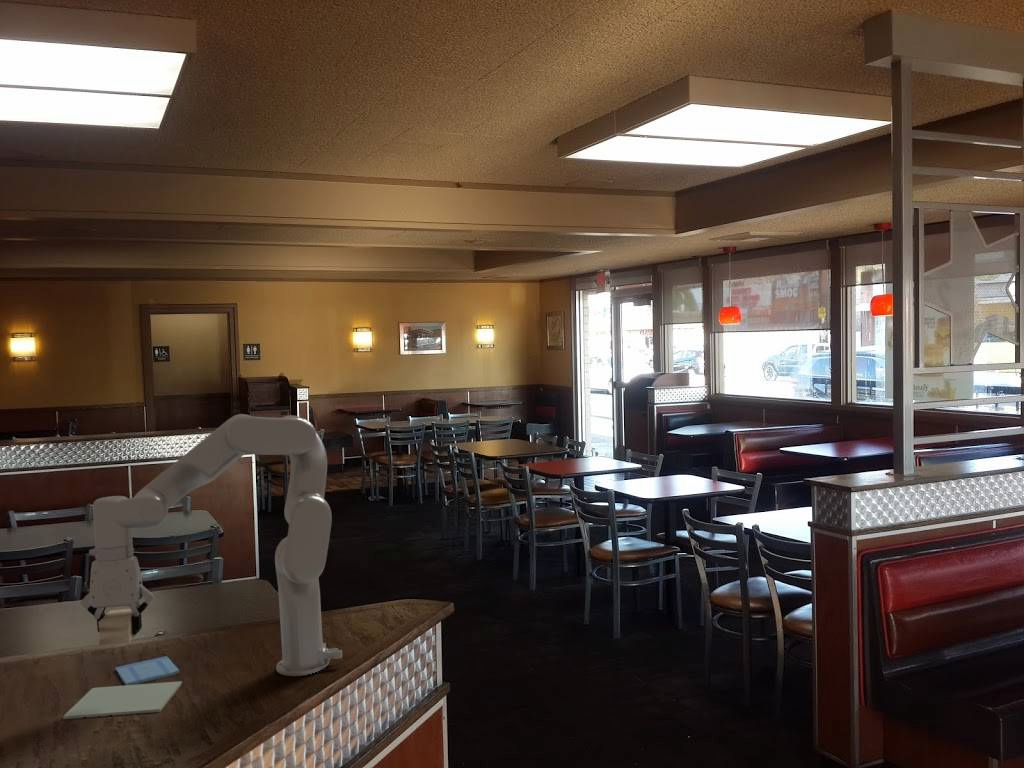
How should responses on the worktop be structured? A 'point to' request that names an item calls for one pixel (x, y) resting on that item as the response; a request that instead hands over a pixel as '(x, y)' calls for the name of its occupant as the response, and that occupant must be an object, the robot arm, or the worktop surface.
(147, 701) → the card mat
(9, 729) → the worktop surface
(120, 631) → the card box
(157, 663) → the waterproof phone case
